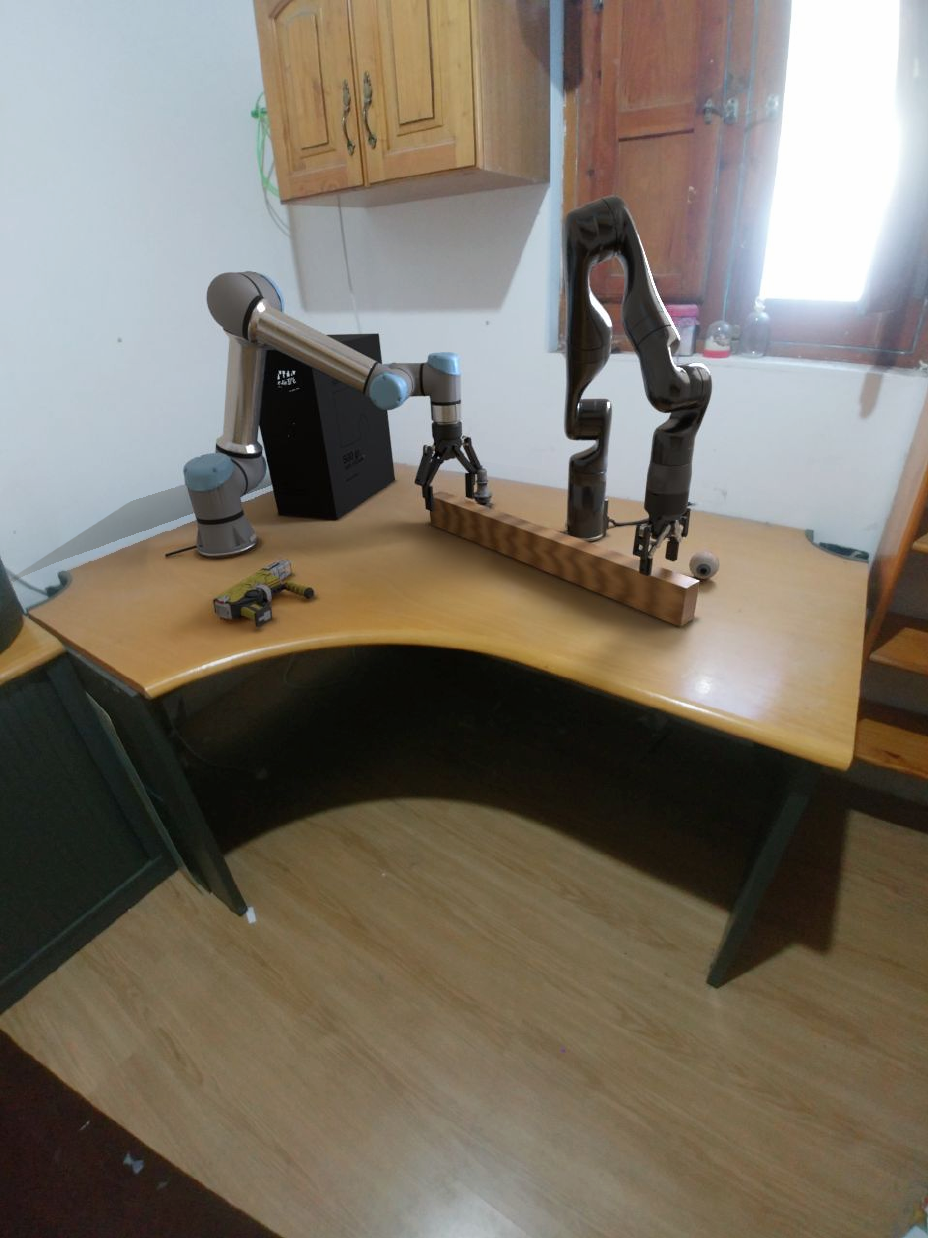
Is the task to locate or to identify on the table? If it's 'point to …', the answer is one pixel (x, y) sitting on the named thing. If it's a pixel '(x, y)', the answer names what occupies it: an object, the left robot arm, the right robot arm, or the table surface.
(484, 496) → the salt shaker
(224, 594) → the toy gun
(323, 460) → the cardboard box
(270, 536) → the table surface
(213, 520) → the left robot arm
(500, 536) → the bar
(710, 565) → the eyeball
